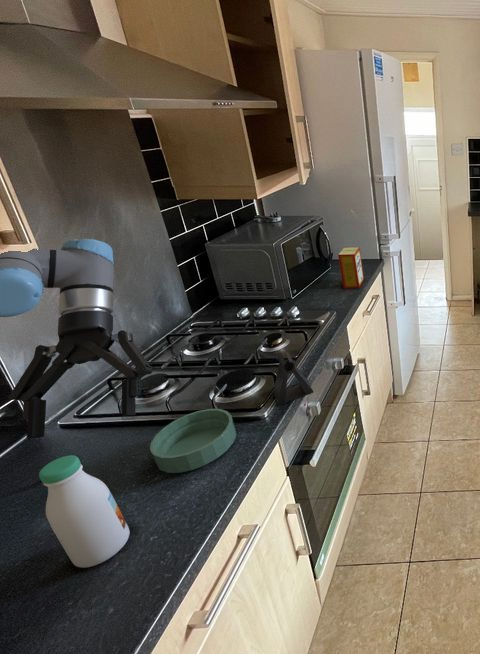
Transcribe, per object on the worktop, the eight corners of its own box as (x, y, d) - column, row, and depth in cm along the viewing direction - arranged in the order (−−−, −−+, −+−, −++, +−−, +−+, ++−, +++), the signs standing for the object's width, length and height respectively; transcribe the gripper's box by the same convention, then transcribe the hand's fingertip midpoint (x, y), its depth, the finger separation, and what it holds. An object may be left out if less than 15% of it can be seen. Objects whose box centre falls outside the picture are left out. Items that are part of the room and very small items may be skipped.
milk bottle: (127, 553, 74) (84, 470, 67) (68, 578, 70) (15, 493, 63) (133, 519, 80) (94, 440, 73) (79, 541, 76) (32, 460, 69)
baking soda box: (359, 288, 181) (354, 253, 175) (343, 288, 180) (338, 254, 174) (364, 279, 189) (359, 246, 183) (349, 280, 189) (344, 246, 183)
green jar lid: (144, 482, 88) (136, 465, 86) (174, 432, 102) (167, 416, 100) (225, 465, 92) (220, 448, 90) (244, 419, 106) (239, 403, 104)
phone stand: (277, 405, 110) (268, 368, 106) (273, 394, 115) (264, 357, 110) (313, 392, 116) (305, 356, 111) (308, 382, 120) (300, 346, 115)
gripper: (171, 307, 89) (175, 407, 82) (21, 333, 81) (12, 446, 75) (151, 297, 82) (153, 405, 76) (-15, 324, 74) (-28, 447, 68)
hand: (83, 426), depth 75 cm, fingers open, 13 cm apart
